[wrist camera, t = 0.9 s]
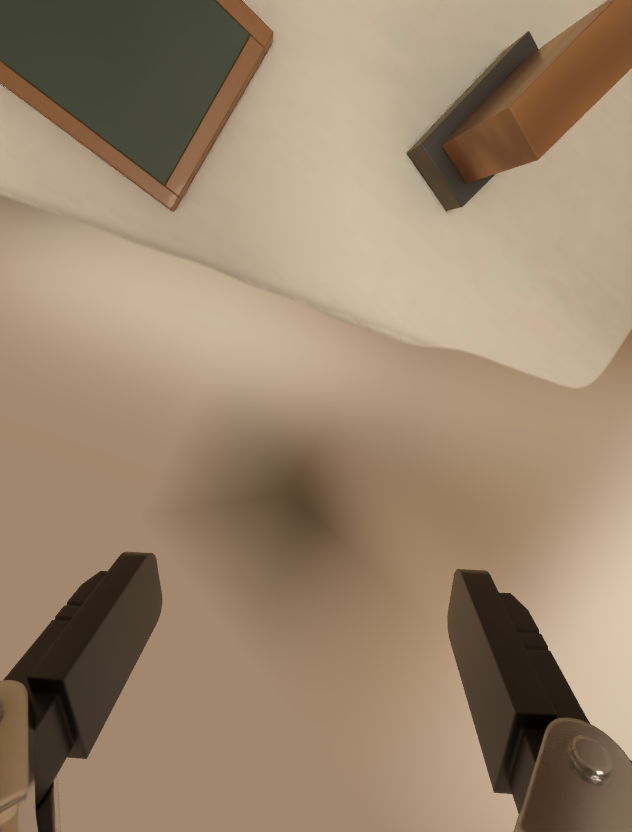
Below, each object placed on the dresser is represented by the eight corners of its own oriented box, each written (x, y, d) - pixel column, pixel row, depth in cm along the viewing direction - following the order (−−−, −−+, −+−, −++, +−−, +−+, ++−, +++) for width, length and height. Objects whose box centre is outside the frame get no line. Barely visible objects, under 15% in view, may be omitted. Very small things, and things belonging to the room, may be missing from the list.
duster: (406, 153, 29) (481, 104, 19) (505, 49, 27) (637, -56, 18) (446, 210, 30) (532, 191, 21) (541, 115, 29) (676, 51, 20)
